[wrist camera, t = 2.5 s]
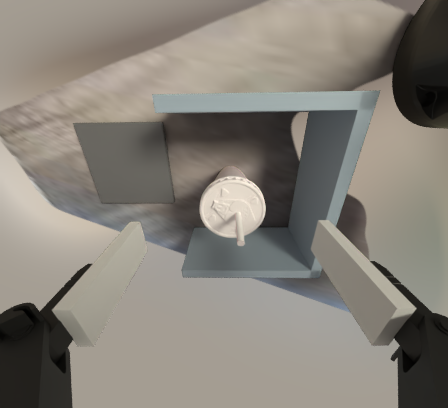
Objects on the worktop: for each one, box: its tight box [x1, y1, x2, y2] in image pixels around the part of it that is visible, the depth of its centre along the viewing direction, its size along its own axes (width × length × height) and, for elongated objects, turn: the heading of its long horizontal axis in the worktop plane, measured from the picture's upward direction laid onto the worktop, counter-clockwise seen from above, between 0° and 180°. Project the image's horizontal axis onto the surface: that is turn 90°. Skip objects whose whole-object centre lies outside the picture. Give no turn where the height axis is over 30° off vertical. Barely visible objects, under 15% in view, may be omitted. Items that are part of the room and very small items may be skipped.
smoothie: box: [200, 166, 266, 246], centre depth 19 cm, size 6×6×14 cm
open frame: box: [152, 91, 380, 278], centre depth 21 cm, size 17×19×9 cm
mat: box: [73, 122, 175, 203], centre depth 24 cm, size 11×11×1 cm
